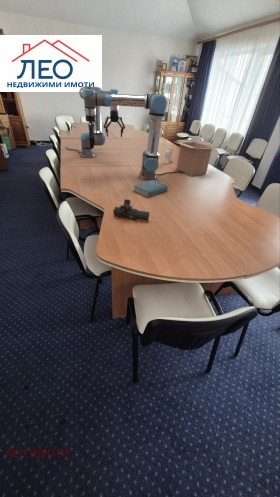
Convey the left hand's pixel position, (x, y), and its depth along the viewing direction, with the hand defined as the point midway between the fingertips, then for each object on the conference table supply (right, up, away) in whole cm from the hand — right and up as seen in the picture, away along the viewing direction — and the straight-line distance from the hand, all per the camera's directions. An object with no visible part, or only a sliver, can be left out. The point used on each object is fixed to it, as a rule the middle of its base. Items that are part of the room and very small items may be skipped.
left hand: (114, 136), depth 210 cm
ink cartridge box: (+56, -9, +41) cm, 70 cm away
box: (+77, -27, +19) cm, 84 cm away
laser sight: (+18, -87, -69) cm, 113 cm away
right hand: (-13, -26, -35) cm, 46 cm away
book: (+33, -60, -31) cm, 75 cm away
